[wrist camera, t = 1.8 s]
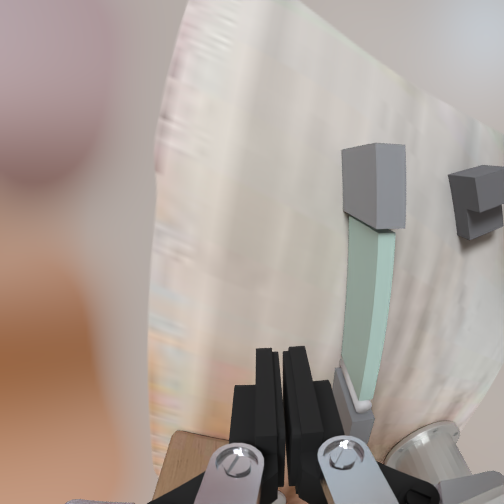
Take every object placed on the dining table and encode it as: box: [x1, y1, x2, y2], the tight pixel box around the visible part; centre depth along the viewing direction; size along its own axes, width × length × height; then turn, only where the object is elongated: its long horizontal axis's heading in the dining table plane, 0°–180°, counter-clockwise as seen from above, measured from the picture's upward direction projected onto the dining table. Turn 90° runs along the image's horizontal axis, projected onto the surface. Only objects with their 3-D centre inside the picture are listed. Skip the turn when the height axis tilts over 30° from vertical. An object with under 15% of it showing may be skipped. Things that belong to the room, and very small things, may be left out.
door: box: [340, 216, 395, 414], centre depth 23 cm, size 15×1×7 cm, turn 3°
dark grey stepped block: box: [448, 165, 504, 240], centre depth 22 cm, size 6×5×4 cm
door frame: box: [333, 143, 406, 445], centre depth 23 cm, size 26×2×8 cm, turn 3°
